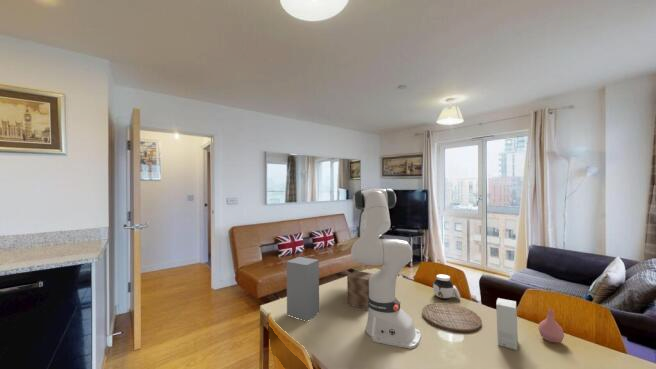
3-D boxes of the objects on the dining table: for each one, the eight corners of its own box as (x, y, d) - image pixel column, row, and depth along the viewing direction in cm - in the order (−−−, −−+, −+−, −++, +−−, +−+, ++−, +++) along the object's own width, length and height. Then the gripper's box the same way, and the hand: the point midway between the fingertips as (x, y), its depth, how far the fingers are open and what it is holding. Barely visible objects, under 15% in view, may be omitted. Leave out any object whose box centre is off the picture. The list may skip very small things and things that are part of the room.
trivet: (491, 336, 106) (491, 332, 106) (426, 330, 111) (426, 326, 111) (470, 308, 131) (470, 305, 131) (418, 304, 136) (418, 301, 136)
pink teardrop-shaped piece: (555, 348, 98) (554, 316, 98) (533, 337, 105) (533, 307, 105) (569, 344, 100) (568, 313, 100) (547, 333, 107) (547, 304, 107)
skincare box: (517, 351, 96) (516, 308, 96) (496, 344, 100) (495, 304, 100) (517, 340, 103) (517, 301, 103) (498, 334, 107) (497, 296, 107)
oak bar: (361, 242, 148) (361, 237, 148) (344, 251, 129) (344, 244, 129) (355, 241, 150) (355, 236, 150) (337, 250, 131) (337, 244, 131)
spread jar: (431, 295, 146) (430, 274, 147) (445, 291, 151) (445, 271, 151) (449, 303, 136) (448, 281, 136) (464, 299, 140) (463, 278, 141)
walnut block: (376, 302, 138) (375, 274, 138) (369, 309, 130) (368, 279, 130) (355, 297, 144) (355, 270, 145) (347, 304, 136) (347, 275, 136)
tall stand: (319, 313, 127) (318, 259, 127) (307, 322, 118) (306, 265, 119) (299, 307, 133) (299, 256, 133) (287, 315, 125) (286, 261, 125)
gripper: (349, 241, 162) (340, 233, 152) (381, 244, 152) (373, 236, 142) (347, 251, 159) (338, 243, 149) (379, 255, 149) (371, 247, 139)
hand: (355, 240), depth 145 cm, fingers closed on oak bar, 4 cm apart
